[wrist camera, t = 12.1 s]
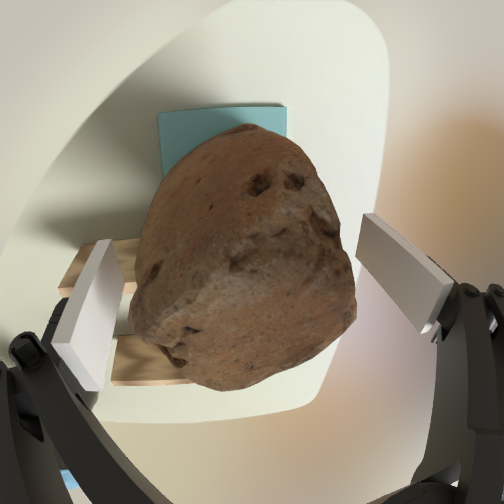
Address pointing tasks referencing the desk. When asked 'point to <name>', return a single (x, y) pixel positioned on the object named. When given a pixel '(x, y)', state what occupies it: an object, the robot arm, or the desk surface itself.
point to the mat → (210, 127)
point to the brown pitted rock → (241, 262)
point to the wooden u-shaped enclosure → (128, 346)
